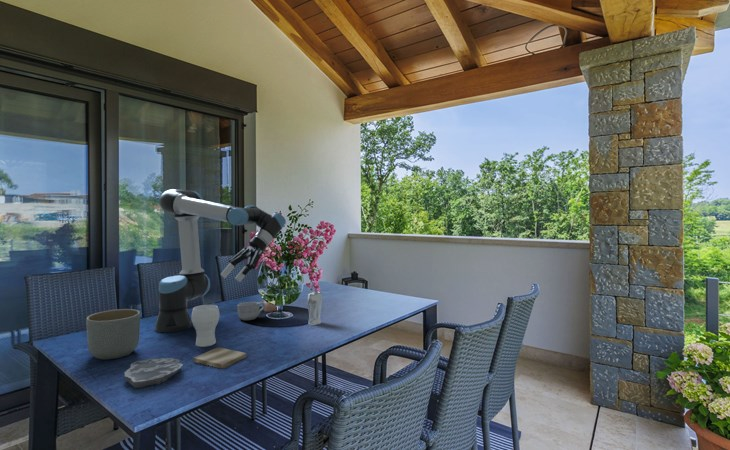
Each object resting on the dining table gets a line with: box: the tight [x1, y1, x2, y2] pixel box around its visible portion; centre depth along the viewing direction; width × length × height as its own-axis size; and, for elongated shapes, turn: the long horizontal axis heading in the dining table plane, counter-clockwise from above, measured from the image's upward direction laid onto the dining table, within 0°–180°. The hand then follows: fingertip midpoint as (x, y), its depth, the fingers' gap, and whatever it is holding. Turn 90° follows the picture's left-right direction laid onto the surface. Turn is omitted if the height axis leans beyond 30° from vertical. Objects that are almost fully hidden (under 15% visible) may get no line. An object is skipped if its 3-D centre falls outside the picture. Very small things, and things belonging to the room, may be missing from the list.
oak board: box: [192, 346, 248, 370], centre depth 142 cm, size 14×12×2 cm
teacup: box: [237, 301, 265, 321], centre depth 195 cm, size 14×11×8 cm
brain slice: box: [123, 357, 184, 389], centre depth 128 cm, size 20×17×3 cm
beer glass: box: [307, 291, 323, 326], centre depth 188 cm, size 7×7×15 cm
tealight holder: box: [263, 299, 277, 313], centre depth 213 cm, size 8×8×6 cm
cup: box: [190, 304, 220, 348], centre depth 158 cm, size 11×11×15 cm
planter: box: [85, 308, 141, 361], centre depth 145 cm, size 17×17×15 cm
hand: (229, 278), depth 165 cm, fingers open, 13 cm apart
